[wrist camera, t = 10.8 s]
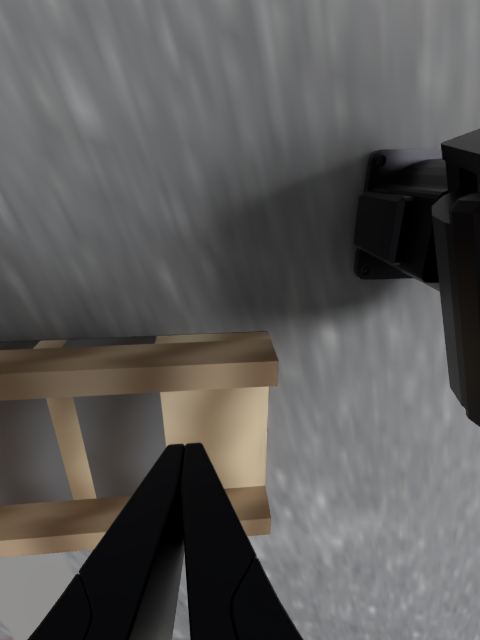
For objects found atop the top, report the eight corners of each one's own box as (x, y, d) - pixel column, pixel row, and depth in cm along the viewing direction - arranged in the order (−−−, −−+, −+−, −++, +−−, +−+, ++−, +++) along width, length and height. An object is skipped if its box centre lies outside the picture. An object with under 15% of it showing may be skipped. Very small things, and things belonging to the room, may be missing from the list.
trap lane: (267, 331, 21) (280, 366, 17) (262, 489, 26) (271, 541, 22) (-232, 351, 19) (-339, 396, 15) (-129, 519, 24) (-190, 582, 20)
